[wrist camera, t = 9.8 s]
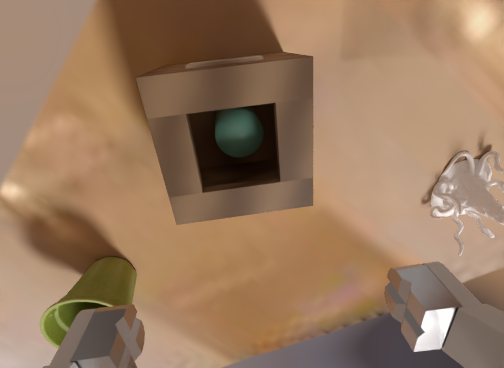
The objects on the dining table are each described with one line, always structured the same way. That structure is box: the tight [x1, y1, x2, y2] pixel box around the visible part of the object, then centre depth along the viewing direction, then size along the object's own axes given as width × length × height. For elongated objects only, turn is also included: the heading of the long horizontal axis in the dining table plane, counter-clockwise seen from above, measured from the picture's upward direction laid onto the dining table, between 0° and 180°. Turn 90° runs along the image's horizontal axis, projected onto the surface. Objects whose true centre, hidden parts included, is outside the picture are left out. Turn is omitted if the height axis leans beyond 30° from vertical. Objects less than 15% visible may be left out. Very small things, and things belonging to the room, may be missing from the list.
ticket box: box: [136, 52, 313, 225], centre depth 26 cm, size 12×12×10 cm
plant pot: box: [40, 257, 137, 349], centre depth 34 cm, size 9×9×9 cm
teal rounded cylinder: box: [215, 106, 264, 157], centre depth 27 cm, size 4×4×5 cm
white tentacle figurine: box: [430, 151, 504, 256], centre depth 34 cm, size 9×12×9 cm
